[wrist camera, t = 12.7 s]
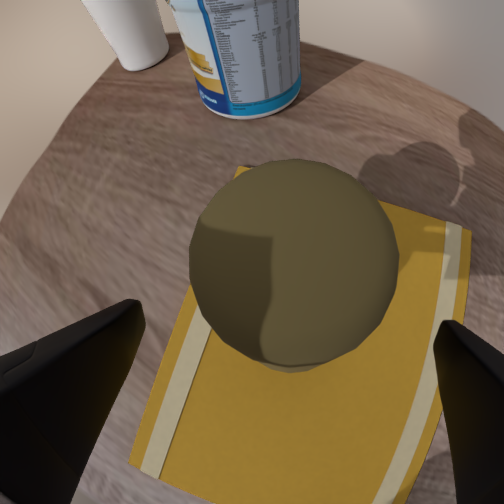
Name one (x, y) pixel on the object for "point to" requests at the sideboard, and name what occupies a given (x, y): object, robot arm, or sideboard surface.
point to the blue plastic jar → (242, 53)
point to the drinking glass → (131, 30)
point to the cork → (293, 264)
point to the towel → (311, 396)
